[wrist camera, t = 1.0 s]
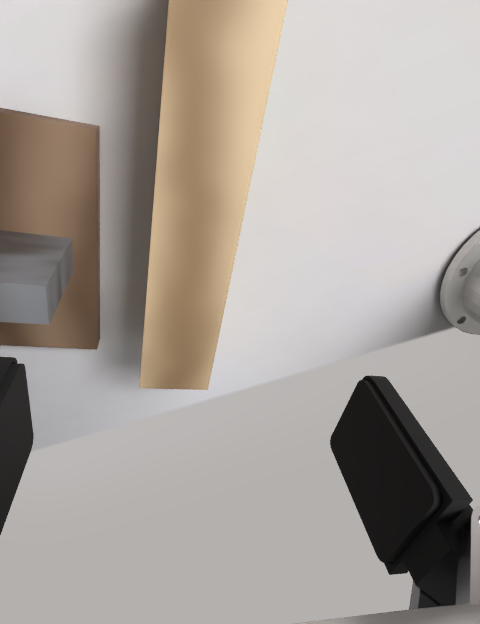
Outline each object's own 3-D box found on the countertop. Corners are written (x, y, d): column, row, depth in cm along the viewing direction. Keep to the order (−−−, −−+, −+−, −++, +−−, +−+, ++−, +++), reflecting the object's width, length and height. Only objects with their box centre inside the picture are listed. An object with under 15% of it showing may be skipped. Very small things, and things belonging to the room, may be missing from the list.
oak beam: (262, -2, 21) (292, -23, 16) (201, 341, 33) (207, 389, 28) (171, -29, 19) (173, -61, 14) (143, 338, 32) (139, 388, 27)
